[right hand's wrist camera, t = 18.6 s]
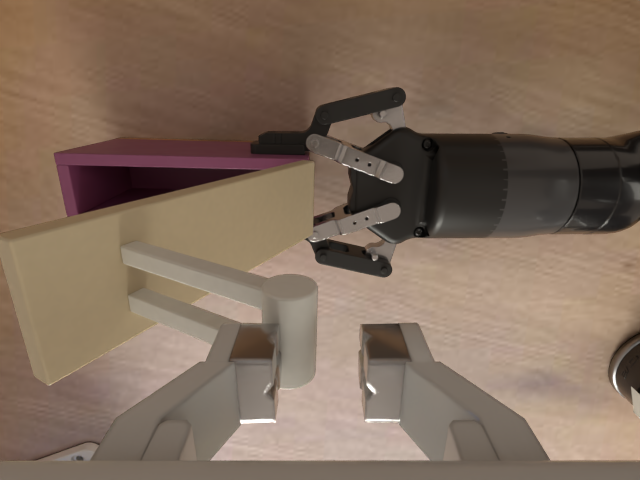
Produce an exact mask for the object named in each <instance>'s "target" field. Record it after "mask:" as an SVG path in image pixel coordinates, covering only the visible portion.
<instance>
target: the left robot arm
mask: <svg viewBox="0 0 640 480" xmlns="http://www.w3.org/2000/svg"><path fill="white" fill-rule="evenodd" d="M405 99H406V94H405V92H404V90H403V89H401V88H399V87H395V88H387V89H383V90H379V91H375V92H371V93H367V94H363V95H359V96H355V97H351V98H347V99H343V100H339V101H335V102H331V103H327V104H323V105H320V106H319V107H318V108H317V109H316V112H315V115H314V118H313V121H312V124H311V126H310V127H309V128H308V129H307V130H305V131H267V132H265V133H263V134H261V135H259V141H253V142H252V143H250V148H251V154H268V155H305V151H311V152H314V153H316V154H319V155H322V156H324V157H327V158H330V159H332V160H335V161H337V162H338V163H340V164H343V165H346V166H348V174H349V178H350V183H351V185H350V188H349V192H348V201H347V203H346V204H343V205H340V206H337V207H335V208H334V209H333V210H331V211H329V212H326V213H323V214H320V215H317V216H314V217H313V235H311V236H309V237H308V238H306V239H304V240H307V241H308V242H310V244H311V245H312V248H313V250H314V253H315V259H316V261H317V262H318V263H320V264H323V265H328V266H332V267H337V268H342V269H346V270H351V271H356V272H360V273H365V274H369V275H374V276H379V277H387V276H389V275H390V274H391V272H392V267H391V264H390V261H391V258H392V255H393V252H394V249H395V246H396V244H398V243H401V242H403V241H405V240H407V239H410V238H416V237H418V238H519V237H528V236H534V235H544V234H608V233H616V232H620V231H623V230H625V229H628V228H630V227H632V226H633V225H635V224H636V223H637V222H638V221H639V220H640V131H636V132H631V133H627V134H622V135H618V136H612V137H607V138H552V137H542V136H536V135H529V134H507V133H503V132H497V133H492V134H421V133H416V132H414V131H413V130H411V129H409V128H407V127H406V126H405V119H404V113H403V106H402V104H403V103H404V102H405ZM367 114H371V117H372V118H373V120H375V121H377V122H380V123H382V122H386V123H387V124H388V125H389V127H390V129H389V130H388V131H387V132H385V133H384V134H382V135H381V136H380V137H378V138H377V139H375V140H374V141H373V142H371V143H370V144H368V145H367V146H366V147H364V148H361V147H359V146H356V145H353V144H351V143H348V142H346V141H343V140H339V139H336V138H334V137H331V136H328V135H327V133H328V131H329V128H330V125H331V123H335V122H339V121H343V120H347V119H351V118H355V117H359V116H363V115H367ZM354 221H356V222H354ZM363 228H368V229H369V230H370V231H372V232H373V233H375V234H376V235H377V236H379V237H380V238H382V240H381V241H379V242H377V243H369V244H367V245H366V246H365V247H361V246H356V245H352V244H347V243H343V242H338V241H334V240H329V239H328V238H330V237H333V236H336V235H346V234H349V233H352V232H355V231H357V230H360V229H363ZM609 380H610V383H611V385H612V386H613V387H614V389H615V390H616V391H617V392H618V393H619V394H620V395H622V396H623V397H624V398H626V399H627V400H628V401H629V402H630V403H631V404H632V405H633V411H634V413H635V414H636V415H637V416H638V417H639V418H640V334H638V335H636V336H635V337H633V338H631V339H630V340H628V341H627V342H626V343H625V344H624V345H623V346H622V347H621V348H620V349H619V350H618V351H617V352H616V354H615V355H614V357H613V359H612V361H611V363H610V366H609Z"/></svg>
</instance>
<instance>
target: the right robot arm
mask: <svg viewBox="0 0 640 480" xmlns="http://www.w3.org/2000/svg"><path fill="white" fill-rule="evenodd" d="M359 339H360V346H361V350H360V351H359V358H358V372H359V383H360V388H361V389H362V406H363V413H364V420H365V422H379V423H400V424H399V425H400V426H401V427H402V428H403V429H404V431H405V432H406V433H407V434H408V435H409V436H410V437H411V439H412V440H413V441H414V442H415V443H416V444H417V446H418V447H419V448H420V449H421V450H422V451H423V452H424V454H425V455H426V456H427V457H428V458H429V459H430V461H210V460H211V458H212V457H213V456H214V455H215V454H216V453H217V452H218V450H219V449H220V448H221V447H222V446H223V445H224V444H225V442H226V441H227V440H228V439H229V438H230V437H231V436H232V434H233V433H234V432H235V431H236V430H237V429H238V428H239V426H240V425H241V424H240V423H260V422H275V421H276V414H277V406H278V389H279V388H280V384H281V371H282V360H281V352H280V350H279V346H280V340H281V336H280V325H279V324H266V323H223V324H222V325H221V326H220V328H219V331H218V333H217V335H216V338H215V340H214V343H213V345H212V347H211V350H210V352H209V354H208V357H207V359H206V362H199V363H197V364H196V365H194V366H193V367H191V368H190V369H188V370H187V371H185V372H184V373H182V374H181V375H179V376H178V377H176V378H175V379H173V380H172V381H171V382H169V383H168V384H166V385H165V386H163V387H162V388H160V389H159V390H157V391H156V392H154V393H153V394H151V395H150V396H148V397H147V398H145V399H144V400H142V401H141V402H139V403H138V404H136V405H135V406H133V407H132V408H130V409H129V410H127V411H126V412H124V413H123V414H121V415H120V416H118V417H117V418H116V419H115V420H114V422H113V424H112V425H111V427H110V428H109V430H108V432H107V433H106V435H105V437H104V438H103V440H102V441H101V443H100V445H98V444H95V443H91V442H88V443H84V444H81V445H78V446H75V447H72V448H70V449H67V450H64V451H61V452H58V453H56V454H53V455H50V456H47V457H44V458H42V459H39V460H36V461H0V480H640V461H550V459H549V457H548V456H547V454H546V452H545V451H544V449H543V448H542V446H541V444H540V443H539V441H538V439H537V438H536V436H535V435H534V433H533V431H532V430H531V428H530V426H529V425H528V423H527V422H526V420H525V419H524V418H523V417H521V416H520V415H518V414H517V413H515V412H514V411H512V410H511V409H510V408H508V407H507V406H505V405H504V404H502V403H501V402H499V401H498V400H496V399H495V398H493V397H492V396H490V395H489V394H487V393H486V392H484V391H483V390H481V389H480V388H478V387H477V386H475V385H474V384H472V383H471V382H469V381H468V380H467V379H465V378H464V377H462V376H461V375H459V374H458V373H456V372H455V371H453V370H452V369H450V368H449V367H447V366H446V365H444V364H443V363H441V362H435V361H434V359H433V357H432V354H431V352H430V350H429V347H428V345H427V343H426V340H425V338H424V336H423V333H422V331H421V329H420V326H419V324H417V323H398V324H360V334H359Z"/></svg>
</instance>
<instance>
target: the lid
mask: <svg viewBox="0 0 640 480" xmlns="http://www.w3.org/2000/svg"><path fill="white" fill-rule="evenodd" d="M314 166H315V162H314V161H308V160H301V161H297V162H293V163H289V164H285V165H281V166H277V167H272V168H268V169H264V170H260V171H256V172H252V173H248V174H244V175H239V176H235V177H231V178H227V179H223V180H219V181H215V182H210V183H206V184H202V185H198V186H194V187H190V188H186V189H182V190H177V191H173V192H169V193H165V194H161V195H157V196H153V197H149V198H144V199H140V200H136V201H132V202H128V203H124V204H120V205H116V206H111V207H107V208H103V209H99V210H95V211H91V212H87V213H83V214H78V215H74V216H70V217H66V218H62V219H58V220H54V221H50V222H45V223H41V224H37V225H33V226H29V227H25V228H21V229H17V230H12V231H8V232H4V233H0V259H1V262H2V266H3V269H4V273H5V276H6V280H7V283H8V287H9V290H10V294H11V297H12V301H13V304H14V308H15V311H16V315H17V318H18V322H19V325H20V329H21V332H22V336H23V339H24V343H25V346H26V350H27V353H28V357H29V360H30V364H31V367H32V371H33V374H34V377H36V378H37V379H39V380H40V381H42V382H43V383H45V384H47V385H52V384H54V383H55V382H57V381H59V380H60V379H62V378H64V377H66V376H67V375H69V374H71V373H73V372H74V371H76V370H78V369H80V368H81V367H83V366H85V365H87V364H88V363H90V362H92V361H94V360H95V359H97V358H99V357H101V356H102V355H104V354H106V353H107V352H109V351H111V350H113V349H114V348H116V347H118V346H120V345H121V344H123V343H125V342H127V341H128V340H130V339H132V338H134V337H135V336H137V335H139V334H141V333H142V332H144V331H146V330H148V329H149V328H151V327H153V326H155V325H156V324H158V323H160V324H163V325H165V326H168V327H170V328H172V329H175V330H177V331H180V332H182V333H185V334H187V335H189V336H192V337H194V338H197V339H199V340H202V341H204V342H206V343H209V344H211V345H213V343H214V340H215V338H216V335H217V333H218V331H219V328H220V326H221V325H222V324H223V323H240V322H237V321H234V320H231V319H229V318H226V317H223V316H220V315H218V314H215V313H212V312H209V311H207V310H204V309H201V308H198V307H196V306H193V305H191V304H193V303H195V302H196V301H198V300H200V299H202V298H203V297H205V296H207V295H208V294H210V293H213V294H216V295H219V296H222V297H225V298H228V299H231V300H234V301H237V302H240V303H243V304H246V305H249V306H252V307H255V308H258V309H261V310H262V323H266V324H279V325H280V336H281V340H280V346H279V350H280V352H281V360H282V371H281V384H280V389H297V388H300V387H303V386H305V385H307V384H308V383H309V382H310V381H311V380H312V379H313V377H314V375H315V372H316V339H317V304H318V286H317V284H316V282H315V281H314V280H312V279H311V278H309V277H306V276H303V275H297V274H283V275H277V276H274V277H271V278H265V277H262V276H258V275H255V274H251V273H248V272H249V271H250V270H252V269H254V268H255V267H257V266H259V265H261V264H262V263H264V262H266V261H268V260H269V259H271V258H273V257H275V256H276V255H278V254H280V253H282V252H283V251H285V250H287V249H289V248H290V247H292V246H294V245H296V244H297V243H299V242H301V241H303V240H304V239H306V238H308V237H309V236H311V235H313V211H314Z"/></svg>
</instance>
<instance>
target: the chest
mask: <svg viewBox="0 0 640 480" xmlns="http://www.w3.org/2000/svg"><path fill="white" fill-rule="evenodd" d="M252 142H253V141H232V140H193V139H154V138H117V139H113V140H109V141H104V142H100V143H96V144H91V145H87V146H82V147H78V148H74V149H69V150H65V151H60V152H56V153H54V157H55V162H56V165H57V170H58V175H59V180H60V185H61V189H62V194H63V199H64V204H65V208H66V213H67V217H70V216H74V215H78V214H83V213H87V212H91V211H95V210H99V209H103V208H107V207H111V206H116V205H120V204H124V203H128V202H132V201H136V200H140V199H144V198H149V197H153V196H157V195H161V194H165V193H169V192H173V191H177V190H182V189H186V188H190V187H194V186H198V185H202V184H206V183H210V182H215V181H219V180H223V179H227V178H231V177H235V176H239V175H244V174H248V173H252V172H256V171H260V170H264V169H268V168H272V167H277V166H281V165H285V164H289V163H293V162H297V161H301V160H308V161H309V160H310V151H305V155H268V154H251V148H250V143H252Z"/></svg>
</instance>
